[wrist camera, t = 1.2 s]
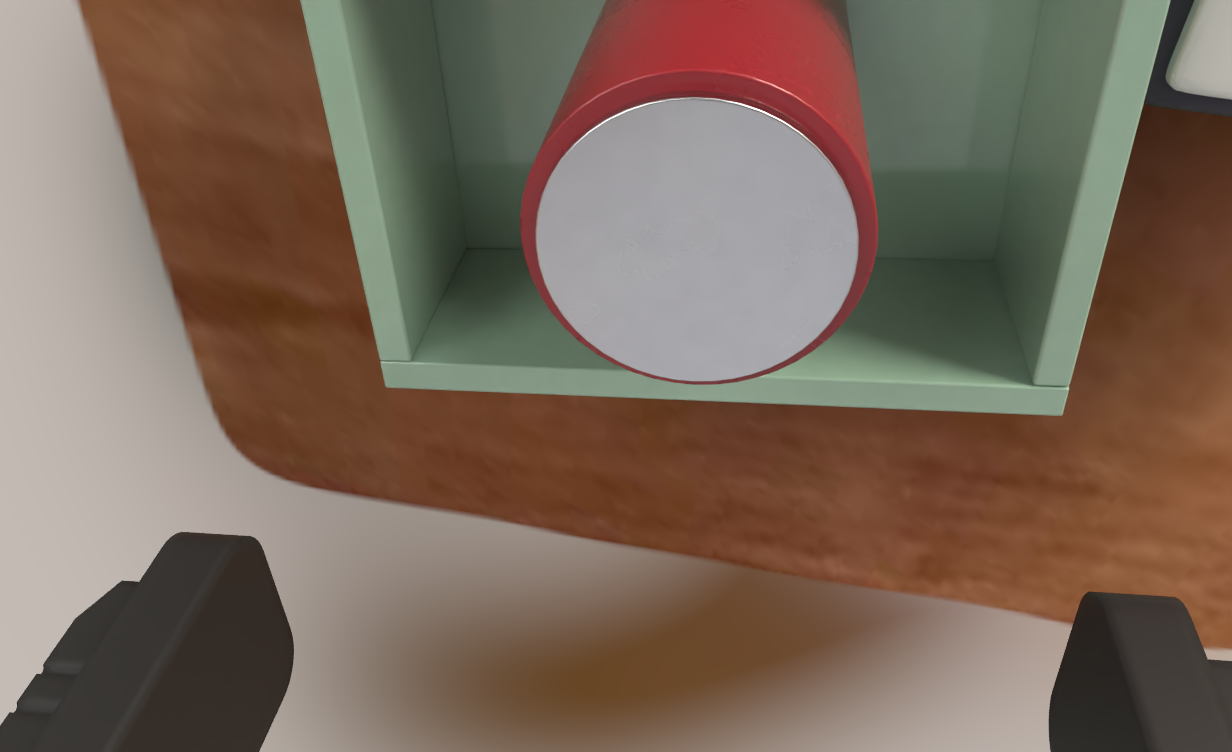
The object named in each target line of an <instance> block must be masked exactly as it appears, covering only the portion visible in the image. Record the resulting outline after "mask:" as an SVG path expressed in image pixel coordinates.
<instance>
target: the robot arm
mask: <svg viewBox="0 0 1232 752" xmlns="http://www.w3.org/2000/svg"><path fill="white" fill-rule="evenodd" d="M293 656H294V645H293V637H292V632H291V629H290V626H289V623H288V621H287V617H286V614H285V612H284V609H283V606H282V603H281V600H280V597H279V594H278V591H277V588H276V586H275V583H274V580H273V577H272V574H271V571H270V568H269V565H268V563H267V560H266V557H265V554H264V551H263V549H262V546H261V545H260V543H259V542H258V540H256V539H255V538H253V537H251V536H238V535H222V534H205V533H190V532H180V533H177V534H175V535H173V536H172V537H171V538H170V539H169V540H168V541H167V542H166V543H165V544H164V546H163V547H162V548H161V550H160V551H159V553H158V554H157V556H156V557H155V559H154V560H153V562H152V563H151V565H150V566H149V568H148V569H147V571H146V573H145V574H144V575H143V577H142V578H141V580H140V582H134V581H121V582H120V583H118V584H117V585H116V586H115V587H114V588H112V589H111V590H110V591H109V592H107V593H106V594H105V595H104V596H103V597H101V598H100V599H99V600H98V601H97V602H95V603H94V604H93V605H92V606H91V607H89V608H88V609H87V610H85V611H84V612H83V613H82V614H81V615H79V616H78V617H77V618H76V619H75V620H74V621H73V623H72V624H71V626H70V627H69V628H68V630H67V631H66V633H65V634H64V636H63V637H62V638H61V640H60V642H59V643H58V644H57V646H56V647H55V648H54V650H53V651H52V653H51V654H50V656H49V657H48V658H47V660H46V661H45V663H44V665H43V666H44V669H43V672H42V673H41V674H36V676H35V677H34V678H33V680H32V681H31V683H30V684H29V686H28V687H27V688H26V690H25V691H24V693H23V694H22V696H21V697H20V698H19V700H18V701H17V709H16V711H15V712H14V713H9V714H8V716H7V717H6V718H5V720H4V721H3V723H2V724H1V725H0V752H259V751H260V748H261V746H262V744H263V742H264V740H265V737H266V735H267V733H268V731H269V729H270V727H271V724H272V722H273V720H274V718H275V715H276V714H277V711H278V709H279V707H280V705H281V703H282V701H283V698H284V696H285V693H286V691H287V688H288V685H289V682H290V677H291V673H292V667H293V658H294V657H293ZM1049 741H1050V750H1051V752H1232V661H1221V660H1208V659H1207V657H1206V654H1205V652H1204V649H1203V647H1202V644H1201V642H1200V639H1199V637H1198V634H1197V632H1196V629H1195V627H1194V624H1193V621H1192V619H1191V617H1190V614H1189V612H1188V610H1187V608H1186V607H1185V605H1184V604H1183V603H1182V602H1181V601H1180V600H1179V599H1178V598H1176V597H1167V596H1151V595H1135V594H1119V593H1103V592H1088V593H1086V594H1085V595H1084V596H1083V598H1082V600H1081V602H1080V605H1079V608H1078V611H1077V614H1076V617H1075V621H1074V624H1073V627H1072V630H1071V633H1070V637H1069V640H1068V643H1067V647H1066V649H1065V653H1064V656H1063V659H1062V662H1061V665H1060V669H1059V672H1058V675H1057V678H1056V681H1055V685H1054V688H1053V691H1052V695H1051V700H1050V709H1049Z"/></svg>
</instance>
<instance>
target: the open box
mask: <svg viewBox="0 0 1232 752" xmlns="http://www.w3.org/2000/svg"><path fill="white" fill-rule="evenodd" d="M300 1H301V5H302V10H303V15H304V19H305V24H306V28H307V33H308V37H309V42H310V46H311V51H312V55H313V60H314V64H315V69H316V73H317V78H318V82H319V87H320V91H321V96H322V100H323V105H324V109H325V114H326V118H327V123H328V127H329V132H330V136H331V141H332V145H333V150H334V155H335V159H336V164H337V168H338V173H339V177H340V182H341V186H342V191H343V195H344V200H345V204H346V209H347V213H348V218H349V222H350V227H351V231H352V236H353V240H354V245H355V249H356V254H357V258H358V263H359V267H360V272H361V276H362V281H363V285H364V290H365V295H366V299H367V304H368V308H369V313H370V317H371V322H372V326H373V331H374V335H375V340H376V344H377V349H378V353H379V358H380V360H381V361H380V363H381V368H382V373H383V377H384V382H385V386H386V387H387V388H409V389H433V390H456V391H480V392H504V393H528V394H551V395H575V396H599V397H623V398H646V399H670V400H694V401H717V402H741V403H765V404H789V405H812V406H836V407H860V408H884V409H907V410H931V411H955V412H979V413H1002V414H1026V415H1050V416H1062V414H1063V411H1064V407H1065V404H1066V400H1067V396H1068V392H1069V385H1070V382H1071V379H1072V375H1073V371H1074V367H1075V363H1076V360H1077V356H1078V352H1079V348H1080V344H1081V341H1082V337H1083V333H1084V329H1085V325H1086V322H1087V318H1088V314H1089V310H1090V306H1091V302H1092V299H1093V295H1094V291H1095V287H1096V283H1097V280H1098V276H1099V272H1100V268H1101V264H1102V261H1103V257H1104V253H1105V249H1106V245H1107V241H1108V238H1109V234H1110V230H1111V226H1112V222H1113V219H1114V215H1115V211H1116V207H1117V203H1118V200H1119V196H1120V192H1121V188H1122V184H1123V181H1124V177H1125V173H1126V169H1127V165H1128V161H1129V158H1130V154H1131V150H1132V146H1133V142H1134V139H1135V135H1136V131H1137V127H1138V123H1139V120H1140V116H1141V112H1142V108H1143V104H1144V100H1145V97H1146V93H1147V89H1148V85H1149V81H1150V78H1151V74H1152V70H1153V66H1154V62H1155V59H1156V55H1157V51H1158V47H1159V43H1160V40H1161V36H1162V32H1163V28H1164V24H1165V20H1166V17H1167V13H1168V9H1169V5H1170V1H1171V0H846V6H847V13H848V20H849V26H850V33H851V40H852V46H853V53H854V60H855V67H856V73H857V80H858V87H859V94H860V100H861V107H862V114H863V120H864V127H865V134H866V141H867V147H868V154H869V161H870V168H871V174H872V181H873V188H874V194H875V201H876V209H877V218H878V244H877V251H876V256H875V261H874V266H873V269H872V272H871V275H870V278H869V281H868V283H867V286H866V288H865V290H864V292H863V294H862V296H861V298H860V300H859V302H858V303H857V305H856V306H855V308H854V309H853V311H852V312H851V313H850V315H849V316H848V318H847V319H846V320H845V322H844V323H843V324H842V325H841V326H840V327H839V328H838V329H837V330H836V331H835V332H834V334H833V335H832V336H831V337H830V338H828V339H827V340H826V341H825V342H824V343H822V344H821V345H820V346H819V347H817V348H816V349H815V350H814V351H812V352H811V353H809V354H807V355H806V356H804V357H803V358H801V359H800V360H798V361H796V362H794V363H792V364H790V365H788V366H786V367H784V368H782V369H780V370H778V371H775V372H772V373H769V374H766V375H763V376H760V377H757V378H753V379H749V380H744V381H740V382H734V383H725V384H717V385H692V384H682V383H673V382H668V381H663V380H658V379H653V378H650V377H647V376H643V375H640V374H637V373H634V372H631V371H629V370H627V369H624V368H622V367H620V366H618V365H615V364H613V363H612V362H610V361H608V360H606V359H604V358H603V357H601V356H599V355H597V354H596V353H594V352H593V351H592V350H590V349H589V348H588V347H586V346H585V345H583V344H582V343H581V342H579V341H578V340H577V339H576V338H575V337H574V336H573V335H572V334H571V333H570V332H568V331H567V330H566V329H565V328H564V327H563V325H562V324H561V323H560V322H559V321H558V320H557V318H556V317H555V316H554V315H553V314H552V313H551V311H550V310H549V308H548V307H547V305H546V304H545V302H544V301H543V299H542V298H541V296H540V294H539V292H538V290H537V288H536V286H535V284H534V282H533V280H532V278H531V275H530V272H529V269H528V266H527V263H526V260H525V257H524V251H523V246H522V240H521V225H520V215H521V205H522V197H523V193H524V189H525V185H526V181H527V177H528V175H529V172H530V170H531V168H532V165H533V163H534V161H535V158H536V156H537V154H538V151H539V149H540V147H541V145H542V142H543V140H544V138H545V136H546V134H547V131H548V129H549V127H550V125H551V122H552V120H553V118H554V116H555V113H556V111H557V109H558V107H559V104H560V102H561V100H562V98H563V95H564V93H565V91H566V89H567V86H568V84H569V82H570V80H571V77H572V75H573V73H574V71H575V68H576V66H577V64H578V62H579V59H580V57H581V55H582V53H583V50H584V48H585V46H586V44H587V41H588V39H589V37H590V35H591V32H592V30H593V28H594V26H595V23H596V21H597V19H598V17H599V14H600V12H601V10H602V8H603V5H604V3H605V1H606V0H300Z"/></svg>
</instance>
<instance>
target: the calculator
mask: <svg viewBox="0 0 1232 752" xmlns="http://www.w3.org/2000/svg"><path fill="white" fill-rule="evenodd" d="M1144 103H1145V104H1148V105H1152V106H1157V107H1163V108H1170V109H1177V110H1184V111H1192V112H1199V113H1206V114H1213V115H1220V116H1227V117H1232V0H1171V1H1170V5H1169V9H1168V13H1167V17H1166V20H1165V24H1164V28H1163V32H1162V36H1161V40H1160V43H1159V47H1158V51H1157V55H1156V59H1155V62H1154V66H1153V70H1152V74H1151V78H1150V81H1149V85H1148V89H1147V93H1146V97H1145V100H1144Z"/></svg>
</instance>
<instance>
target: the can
mask: <svg viewBox="0 0 1232 752" xmlns="http://www.w3.org/2000/svg"><path fill="white" fill-rule="evenodd" d="M520 225H521V240H522V246H523V251H524V257H525V260H526V263H527V266H528V269H529V272H530V275H531V278H532V280H533V282H534V284H535V286H536V288H537V290H538V292H539V294H540V296H541V298H542V299H543V301H544V302H545V304H546V305H547V307H548V308H549V310H550V311H551V313H552V314H553V315H554V316H555V317H556V318H557V320H558V321H559V322H560V323H561V324H562V325H563V327H564V328H565V329H566V330H567V331H568V332H570V333H571V334H572V335H573V336H574V337H575V338H576V339H577V340H578V341H579V342H581V343H582V344H583V345H585V346H586V347H588V348H589V349H590V350H592V351H593V352H594V353H596V354H597V355H599V356H601V357H603V358H604V359H606V360H608V361H610V362H612V363H613V364H615V365H618V366H620V367H622V368H624V369H627V370H629V371H631V372H634V373H637V374H640V375H643V376H647V377H650V378H653V379H658V380H663V381H668V382H673V383H682V384H692V385H717V384H725V383H734V382H740V381H744V380H749V379H753V378H757V377H760V376H763V375H766V374H769V373H772V372H775V371H778V370H780V369H782V368H784V367H786V366H788V365H790V364H792V363H794V362H796V361H798V360H800V359H801V358H803V357H804V356H806V355H807V354H809V353H811V352H812V351H814V350H815V349H816V348H817V347H819V346H820V345H821V344H822V343H824V342H825V341H826V340H827V339H828V338H830V337H831V336H832V335H833V334H834V332H835V331H836V330H837V329H838V328H839V327H840V326H841V325H842V324H843V323H844V322H845V320H846V319H847V318H848V316H849V315H850V313H851V312H852V311H853V309H854V308H855V306H856V305H857V303H858V302H859V300H860V298H861V296H862V294H863V292H864V290H865V288H866V286H867V283H868V281H869V278H870V275H871V272H872V269H873V266H874V261H875V256H876V251H877V244H878V218H877V209H876V201H875V194H874V188H873V181H872V174H871V168H870V161H869V154H868V147H867V141H866V134H865V127H864V120H863V114H862V107H861V100H860V94H859V87H858V80H857V73H856V67H855V60H854V53H853V46H852V40H851V33H850V26H849V20H848V13H847V6H846V0H606V1H605V3H604V5H603V8H602V10H601V12H600V14H599V17H598V19H597V21H596V23H595V26H594V28H593V30H592V32H591V35H590V37H589V39H588V41H587V44H586V46H585V48H584V50H583V53H582V55H581V57H580V59H579V62H578V64H577V66H576V68H575V71H574V73H573V75H572V77H571V80H570V82H569V84H568V86H567V89H566V91H565V93H564V95H563V98H562V100H561V102H560V104H559V107H558V109H557V111H556V113H555V116H554V118H553V120H552V122H551V125H550V127H549V129H548V131H547V134H546V136H545V138H544V140H543V142H542V145H541V147H540V149H539V151H538V154H537V156H536V158H535V161H534V163H533V165H532V168H531V170H530V172H529V175H528V177H527V181H526V185H525V189H524V193H523V197H522V205H521V215H520Z"/></svg>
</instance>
